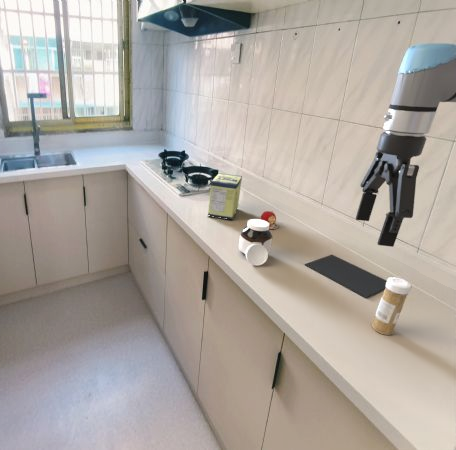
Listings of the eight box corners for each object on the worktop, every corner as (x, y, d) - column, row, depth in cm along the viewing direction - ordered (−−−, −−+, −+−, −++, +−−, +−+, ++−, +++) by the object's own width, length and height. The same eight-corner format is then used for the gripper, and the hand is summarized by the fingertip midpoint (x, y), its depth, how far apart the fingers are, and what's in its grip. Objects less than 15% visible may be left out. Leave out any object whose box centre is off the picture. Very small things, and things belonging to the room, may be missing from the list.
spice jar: (397, 335, 79) (417, 287, 74) (378, 335, 79) (397, 287, 74) (384, 322, 83) (402, 276, 78) (366, 322, 83) (383, 276, 78)
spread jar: (257, 247, 119) (262, 216, 114) (280, 262, 109) (287, 229, 105) (229, 253, 114) (233, 221, 109) (251, 269, 105) (257, 235, 100)
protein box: (237, 209, 153) (242, 175, 147) (232, 221, 140) (236, 185, 133) (215, 205, 156) (218, 172, 150) (207, 216, 143) (210, 181, 137)
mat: (393, 285, 99) (394, 283, 99) (366, 298, 92) (366, 297, 92) (331, 255, 115) (332, 254, 115) (304, 265, 108) (304, 263, 108)
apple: (280, 226, 137) (283, 211, 134) (272, 231, 131) (275, 216, 128) (262, 220, 141) (264, 205, 139) (253, 225, 136) (255, 210, 133)
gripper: (361, 124, 78) (338, 210, 86) (413, 142, 55) (375, 256, 64) (397, 126, 77) (370, 213, 85) (465, 146, 54) (419, 261, 63)
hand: (372, 231), depth 75 cm, fingers open, 13 cm apart
